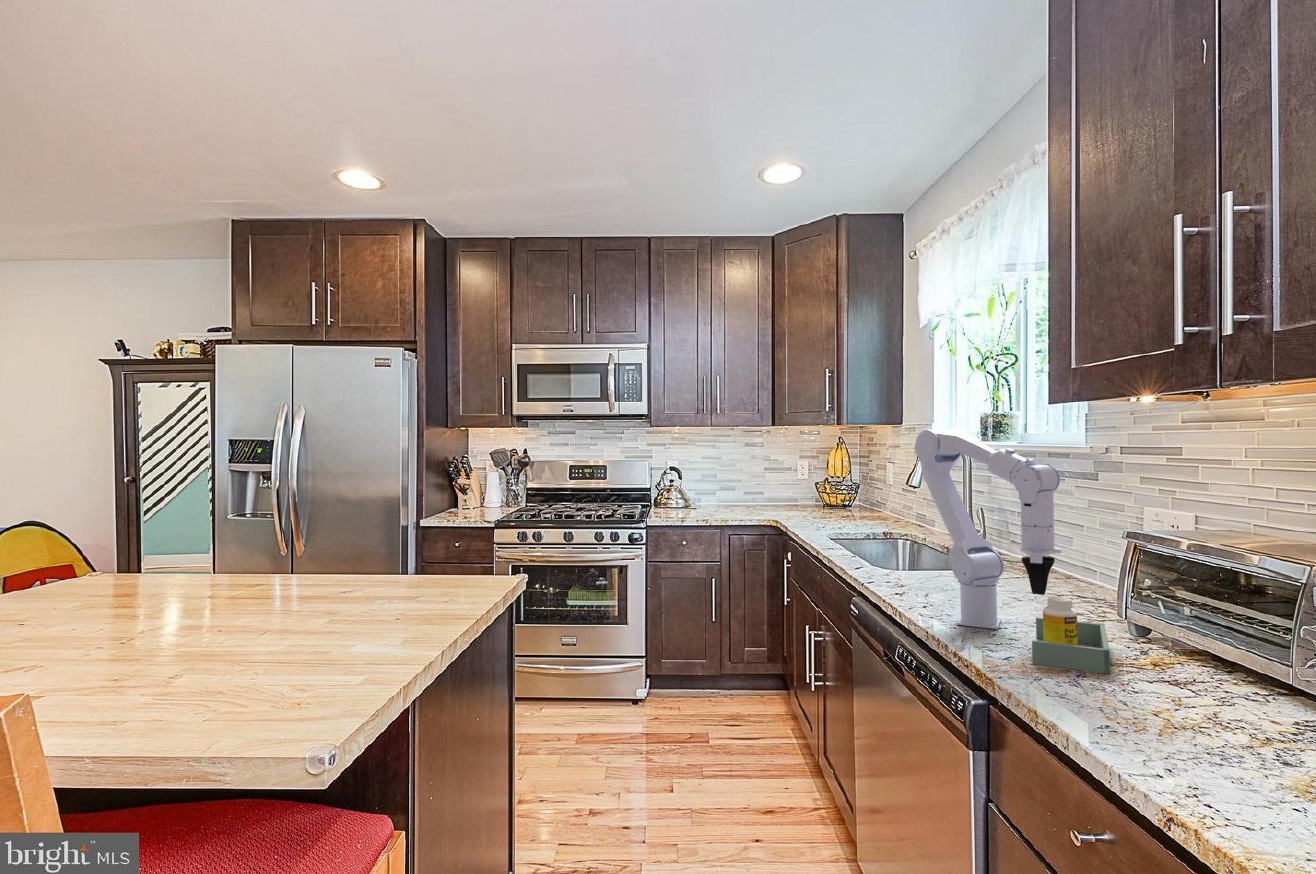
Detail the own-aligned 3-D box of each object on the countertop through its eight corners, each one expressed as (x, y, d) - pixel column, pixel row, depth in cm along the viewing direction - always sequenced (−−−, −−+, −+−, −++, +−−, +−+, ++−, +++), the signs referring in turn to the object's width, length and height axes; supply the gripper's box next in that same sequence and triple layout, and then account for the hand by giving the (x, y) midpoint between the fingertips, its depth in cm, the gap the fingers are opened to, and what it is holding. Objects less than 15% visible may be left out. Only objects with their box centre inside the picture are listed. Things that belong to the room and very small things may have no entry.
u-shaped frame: (1036, 637, 138) (1036, 617, 138) (1105, 644, 132) (1104, 624, 132) (1032, 663, 122) (1032, 641, 122) (1110, 674, 116) (1109, 650, 116)
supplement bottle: (1066, 659, 124) (1065, 603, 124) (1037, 651, 129) (1036, 597, 129) (1084, 654, 126) (1083, 599, 126) (1054, 647, 131) (1053, 593, 131)
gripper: (1059, 531, 127) (1061, 603, 127) (1061, 522, 139) (1062, 588, 139) (1017, 529, 131) (1018, 599, 131) (1022, 520, 143) (1023, 585, 143)
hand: (1038, 593), depth 135 cm, fingers closed
